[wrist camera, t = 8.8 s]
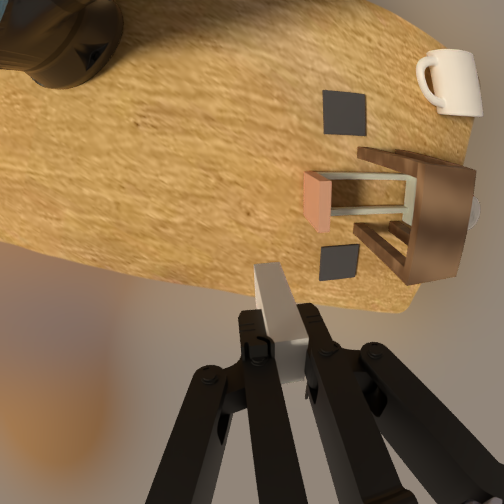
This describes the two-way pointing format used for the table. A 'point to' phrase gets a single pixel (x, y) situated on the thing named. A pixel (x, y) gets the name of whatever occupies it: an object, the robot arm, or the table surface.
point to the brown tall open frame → (425, 217)
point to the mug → (451, 82)
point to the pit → (343, 113)
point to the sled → (320, 207)
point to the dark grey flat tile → (338, 262)
